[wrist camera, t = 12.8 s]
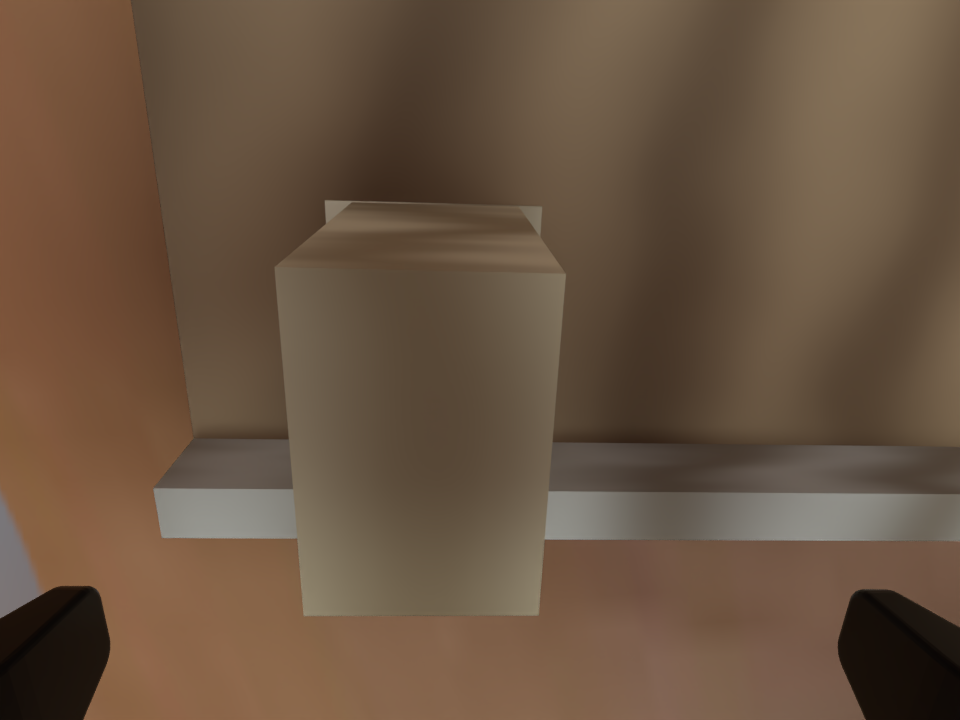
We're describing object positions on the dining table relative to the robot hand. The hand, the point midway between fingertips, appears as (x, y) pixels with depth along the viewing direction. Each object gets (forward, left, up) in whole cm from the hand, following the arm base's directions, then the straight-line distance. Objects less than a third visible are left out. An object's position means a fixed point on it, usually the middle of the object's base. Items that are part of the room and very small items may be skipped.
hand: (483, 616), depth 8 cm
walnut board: (-6, -2, -12) cm, 13 cm away
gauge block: (+1, -1, -10) cm, 10 cm away
